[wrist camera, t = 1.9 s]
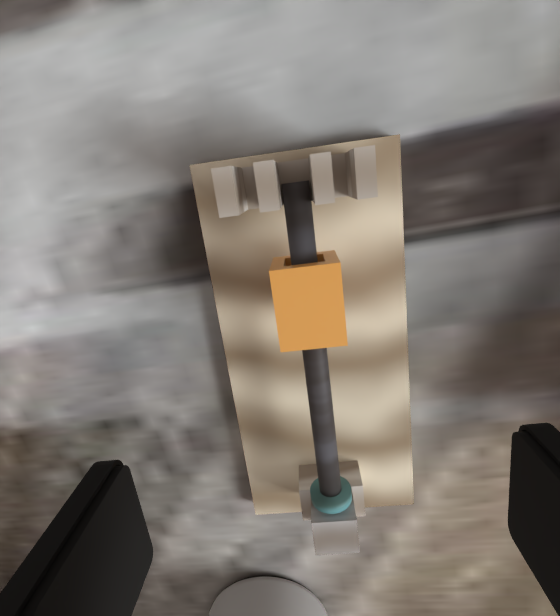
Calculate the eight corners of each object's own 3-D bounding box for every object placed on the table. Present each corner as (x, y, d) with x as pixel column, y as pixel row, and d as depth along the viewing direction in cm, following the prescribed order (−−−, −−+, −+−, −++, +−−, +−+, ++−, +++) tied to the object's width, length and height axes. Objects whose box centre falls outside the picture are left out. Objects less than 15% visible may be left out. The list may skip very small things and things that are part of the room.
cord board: (194, 165, 28) (148, 160, 20) (394, 136, 27) (439, 117, 18) (257, 502, 37) (244, 600, 29) (409, 491, 36) (444, 590, 28)
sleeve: (273, 257, 26) (268, 271, 22) (334, 250, 26) (340, 262, 22) (283, 328, 28) (280, 352, 24) (341, 322, 27) (347, 345, 23)
